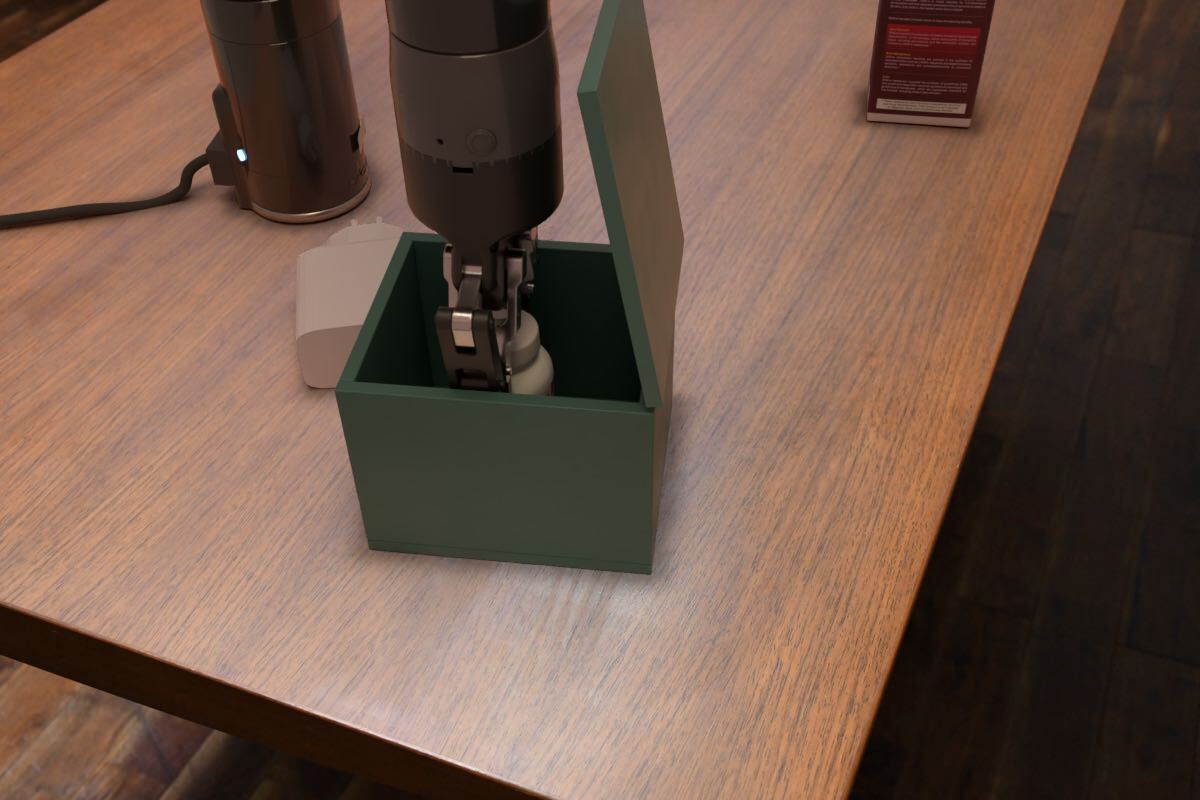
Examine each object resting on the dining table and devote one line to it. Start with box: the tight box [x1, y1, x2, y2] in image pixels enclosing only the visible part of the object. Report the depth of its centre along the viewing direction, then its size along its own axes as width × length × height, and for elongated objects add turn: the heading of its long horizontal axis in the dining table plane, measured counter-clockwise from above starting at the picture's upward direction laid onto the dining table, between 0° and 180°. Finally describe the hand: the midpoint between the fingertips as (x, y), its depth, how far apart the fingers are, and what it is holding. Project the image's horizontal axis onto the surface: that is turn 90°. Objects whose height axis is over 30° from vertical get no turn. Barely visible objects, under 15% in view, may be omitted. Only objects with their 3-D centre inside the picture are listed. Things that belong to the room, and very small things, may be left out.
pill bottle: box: [492, 309, 555, 396], centre depth 67 cm, size 5×5×10 cm
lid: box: [576, 0, 685, 408], centre depth 56 cm, size 16×14×1 cm
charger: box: [294, 215, 408, 389], centre depth 81 cm, size 5×9×15 cm
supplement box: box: [866, 0, 996, 128], centre depth 96 cm, size 9×5×16 cm, turn 80°
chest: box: [333, 231, 676, 575], centre depth 67 cm, size 16×14×12 cm
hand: (503, 387), depth 67 cm, fingers closed on pill bottle, 5 cm apart
